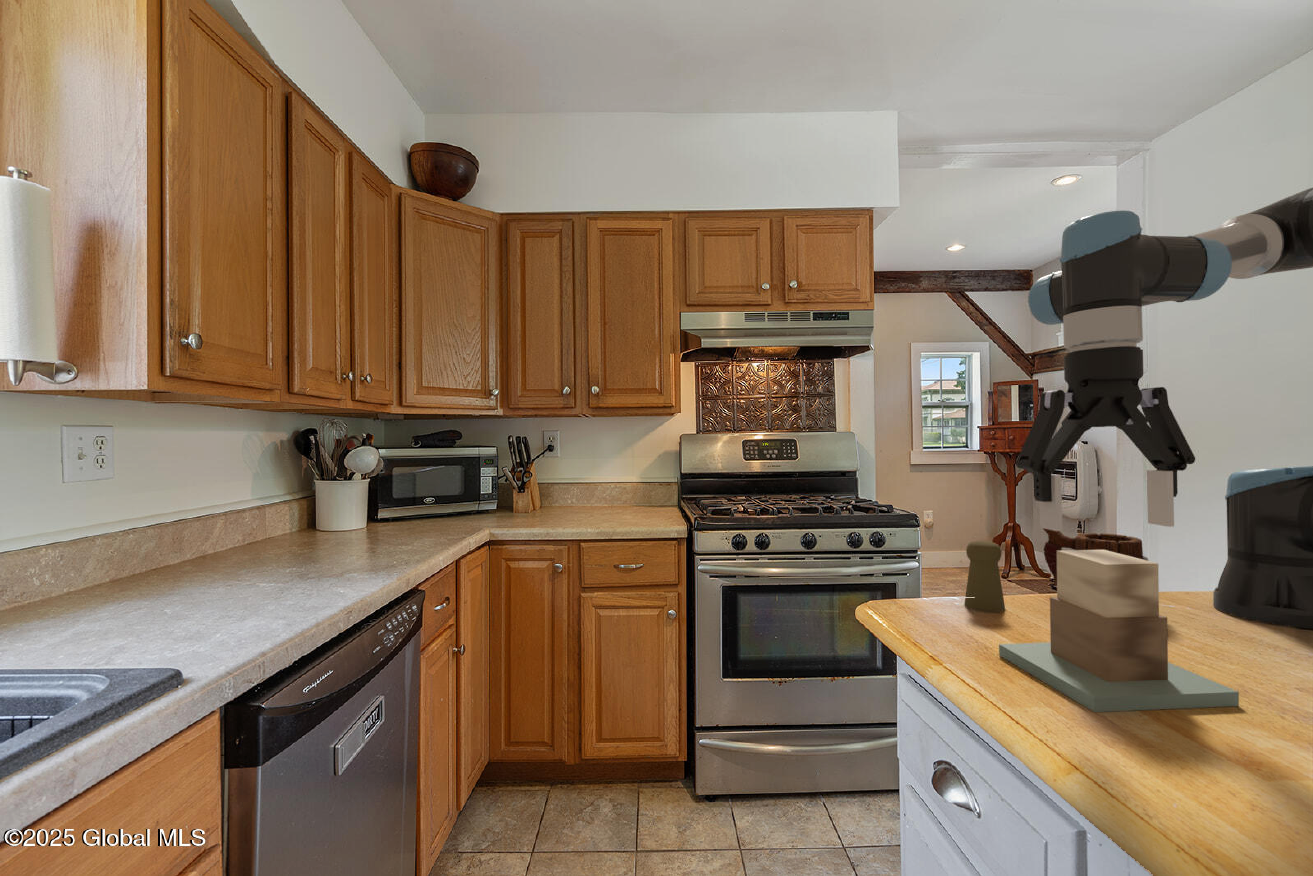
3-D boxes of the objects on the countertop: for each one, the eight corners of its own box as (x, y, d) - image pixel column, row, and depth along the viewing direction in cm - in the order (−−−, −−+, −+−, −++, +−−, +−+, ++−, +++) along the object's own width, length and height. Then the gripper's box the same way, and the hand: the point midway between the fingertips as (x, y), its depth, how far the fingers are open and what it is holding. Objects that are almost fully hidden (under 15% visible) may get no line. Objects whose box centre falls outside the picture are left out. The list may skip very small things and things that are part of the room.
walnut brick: (1104, 650, 76) (1103, 595, 76) (1168, 679, 67) (1167, 617, 67) (1050, 652, 75) (1049, 597, 75) (1107, 681, 66) (1106, 619, 66)
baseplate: (1115, 651, 79) (1115, 640, 79) (1238, 706, 63) (1238, 692, 63) (999, 655, 78) (999, 644, 78) (1094, 712, 62) (1094, 697, 62)
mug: (1156, 624, 89) (1132, 524, 90) (1047, 620, 99) (1028, 530, 101) (1168, 608, 97) (1146, 516, 98) (1066, 606, 107) (1048, 522, 109)
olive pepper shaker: (982, 613, 96) (981, 545, 96) (956, 603, 102) (955, 539, 102) (1014, 610, 98) (1013, 543, 98) (986, 600, 104) (985, 537, 103)
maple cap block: (1104, 597, 75) (1103, 549, 75) (1158, 616, 67) (1158, 563, 67) (1057, 598, 75) (1056, 550, 75) (1106, 617, 67) (1105, 564, 67)
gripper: (1173, 350, 75) (1177, 518, 75) (981, 355, 74) (985, 526, 74) (1234, 341, 67) (1238, 527, 68) (1021, 346, 66) (1026, 536, 66)
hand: (1106, 527), depth 71 cm, fingers open, 13 cm apart
